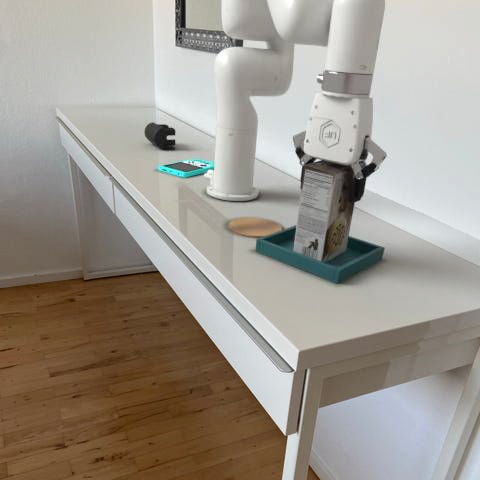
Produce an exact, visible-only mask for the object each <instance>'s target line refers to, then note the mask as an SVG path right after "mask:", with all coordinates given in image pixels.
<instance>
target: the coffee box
mask: <svg viewBox="0 0 480 480" xmlns="http://www.w3.org/2000/svg"><path fill="white" fill-rule="evenodd" d="M353 178H355V174H354V172H353V170H352V168H351V165H342V164H337V163H333V162H328V161H324V160H316V161H315V162H313V163H310V164H306V165H304V173H303V180H302V188H301V189H300V195H299V196H300V197H299V203H298V212H297V220H296V225H297V226H296V233H295V241H294V249H293V251H295V252H297V253H300V254H303V255H305V256H308V257H311V258H313V259H316V260H319V261H321V262H324V263H325V262H327V261H329V260H331V259H333V258H335V257H336V256H338V255H340V254H342V253H344V252H346V248H347V242H348V237H349V236H350V230H351V225H352V219H353V214H354V208H355V203H356V202H354V203H350V202H349V201H348V198H349V192H350V187H351V181H352V179H353Z"/></svg>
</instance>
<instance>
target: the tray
mask: <svg viewBox="0 0 480 480" xmlns="http://www.w3.org/2000/svg"><path fill="white" fill-rule="evenodd" d="M296 226H297V224H295V225H292V226H289V227H287V228H284V229H282V230H281V231H278V232H275V233H272V234H270V235H267V236H264V237H257V238H256V241H255V249H254V251H255V252H256V253H259V254H261V255H264V256H266V257H269V258H271V259H274V260H276V261H279V262H281V263H284V264H286V265H289V266H291V267H294V268H296V269H298V270H301V271H304V272H307V273H309V274H312V275H314V276H317V277H319V278H321V279H324V280H327V281H330V282H332V283H334V284H340V283H341V282H343V281H345V280H347V279H349V278H350V277H353V276H354V275H357V274H358V273H360V272H362V271H364V270H366V269H367V268H370V267H372V266H373V265H375V264H376V263H378V262H380V261H382V260H383V257H384V252H385V247H384V246H381V245H378V244H375V243H372V242H369V241H366V240H363V239H359V238H356V237H353V236H351V235H349V237H348V242H347V248H346V252H344V253H342V254H340V255H338V256H336V257H335V258H333V259H331V260H329V261H327V262H325V263H324V262H321V261H319V260H316V259H313V258H311V257H308V256H305V255H303V254H300V253H297V252H295V251H293V249H294V241H295V233H296Z"/></svg>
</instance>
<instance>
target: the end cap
mask: <svg viewBox="0 0 480 480" xmlns="http://www.w3.org/2000/svg"><path fill="white" fill-rule="evenodd" d="M143 133H144V137H145V139H146V140H147V141H148V142H149V143H151V144H152V145H154V146H155V147H157V148H158V149H160V150H162V151H174V150H175V149H176V147H175V146H176V139H168V137H169V136H171V137H173V136H175V137H176V129H175V128H173V127H169V125H168V124H158V123H156V122H153V121H152V122H149V123H148V124H146V126H145V128H144V132H143Z"/></svg>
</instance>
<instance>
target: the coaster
mask: <svg viewBox="0 0 480 480" xmlns="http://www.w3.org/2000/svg"><path fill="white" fill-rule="evenodd" d="M228 229H229V230H230V231H232V232H233V233H236V234H238V235H241V236H245V237H250V238H261V237H264V236H267V235H270V234H272V233H275V232H278V231H281V230H283V227H282V225H280V224H279V223H278V222H276V221H273V220H271V219H267V218H262V217H261V218H260V217H239V218H235V219H232V220H231V221H229V223H228Z"/></svg>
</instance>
